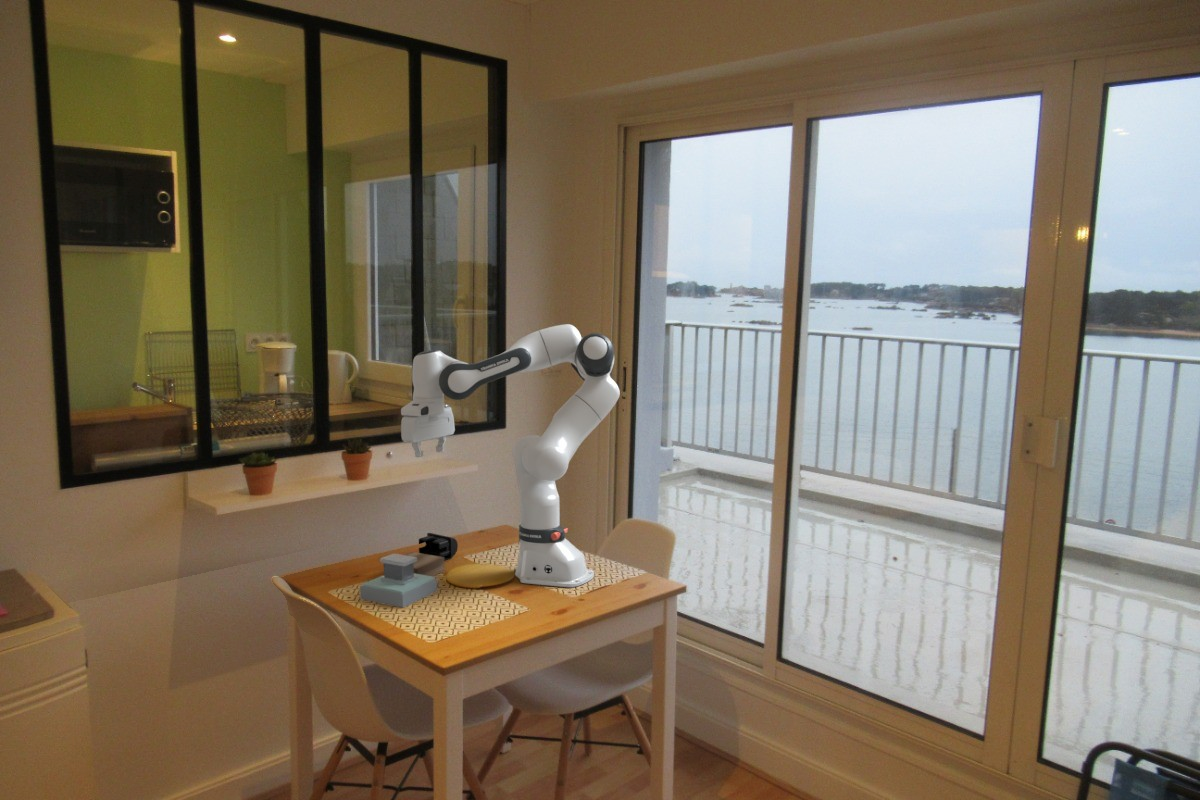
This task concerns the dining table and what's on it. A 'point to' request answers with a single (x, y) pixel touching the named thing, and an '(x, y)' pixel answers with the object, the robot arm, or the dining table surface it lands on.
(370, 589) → the stand
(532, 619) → the dining table surface
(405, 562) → the block
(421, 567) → the stand
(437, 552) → the end cap
